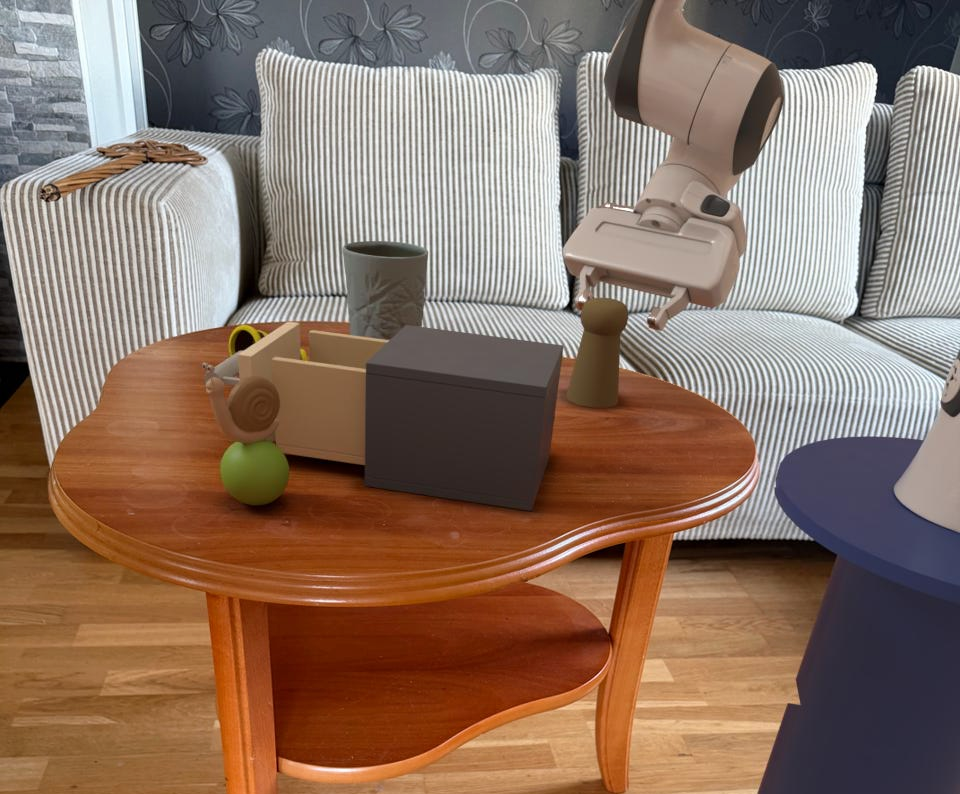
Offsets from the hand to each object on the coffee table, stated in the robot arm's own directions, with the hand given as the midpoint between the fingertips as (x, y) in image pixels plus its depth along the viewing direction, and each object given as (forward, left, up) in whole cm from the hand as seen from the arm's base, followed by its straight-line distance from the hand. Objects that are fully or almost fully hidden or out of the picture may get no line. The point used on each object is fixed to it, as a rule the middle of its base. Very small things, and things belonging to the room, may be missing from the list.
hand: (616, 317), depth 101 cm
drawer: (+25, +29, -8) cm, 39 cm away
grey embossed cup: (+28, -5, -9) cm, 30 cm away
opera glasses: (+37, +10, -9) cm, 40 cm away
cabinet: (+11, +29, -9) cm, 32 cm away
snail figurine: (+26, +42, -9) cm, 50 cm away
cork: (+1, +3, -9) cm, 9 cm away
